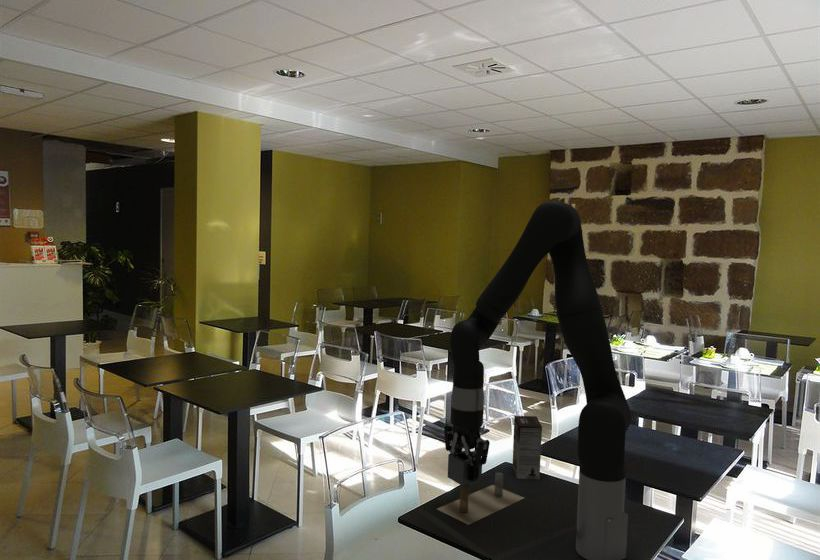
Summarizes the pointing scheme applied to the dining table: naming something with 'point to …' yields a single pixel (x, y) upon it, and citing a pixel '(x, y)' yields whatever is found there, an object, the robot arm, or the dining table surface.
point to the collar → (461, 468)
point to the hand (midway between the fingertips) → (464, 475)
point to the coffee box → (527, 447)
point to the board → (480, 502)
